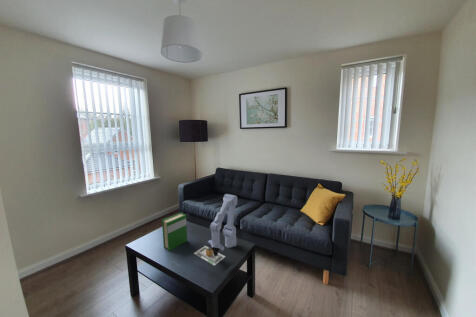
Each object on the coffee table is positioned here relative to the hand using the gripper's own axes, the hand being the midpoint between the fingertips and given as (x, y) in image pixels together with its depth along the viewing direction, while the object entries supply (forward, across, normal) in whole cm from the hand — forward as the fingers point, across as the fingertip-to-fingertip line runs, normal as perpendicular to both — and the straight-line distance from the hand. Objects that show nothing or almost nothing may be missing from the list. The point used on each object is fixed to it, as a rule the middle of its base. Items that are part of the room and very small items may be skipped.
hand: (216, 255), depth 140 cm
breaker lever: (+3, -7, 0) cm, 8 cm away
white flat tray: (+4, -7, 0) cm, 8 cm away
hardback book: (+4, -41, -6) cm, 42 cm away
